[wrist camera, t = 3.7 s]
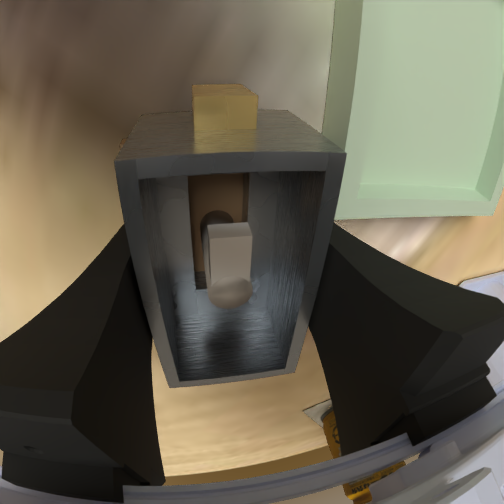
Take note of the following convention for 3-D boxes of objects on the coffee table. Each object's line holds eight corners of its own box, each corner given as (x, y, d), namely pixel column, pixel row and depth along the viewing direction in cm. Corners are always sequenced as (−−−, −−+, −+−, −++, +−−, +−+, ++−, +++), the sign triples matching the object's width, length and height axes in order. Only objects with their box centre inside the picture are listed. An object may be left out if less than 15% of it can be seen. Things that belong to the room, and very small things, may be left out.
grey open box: (268, 295, 14) (294, 372, 10) (166, 304, 13) (169, 388, 10) (289, 86, 8) (353, 115, 5) (140, 89, 8) (108, 119, 5)
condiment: (323, 428, 30) (355, 521, 20) (302, 409, 24) (341, 531, 15) (384, 400, 29) (423, 492, 20) (379, 374, 24) (432, 493, 14)
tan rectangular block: (278, 314, 15) (301, 381, 12) (156, 326, 14) (158, 399, 11) (303, 132, 10) (359, 179, 7) (123, 139, 9) (91, 193, 6)
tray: (471, 197, 13) (492, 215, 12) (313, 195, 12) (331, 220, 10) (507, -17, 6) (534, -13, 4) (338, -109, 4) (363, -125, 3)
